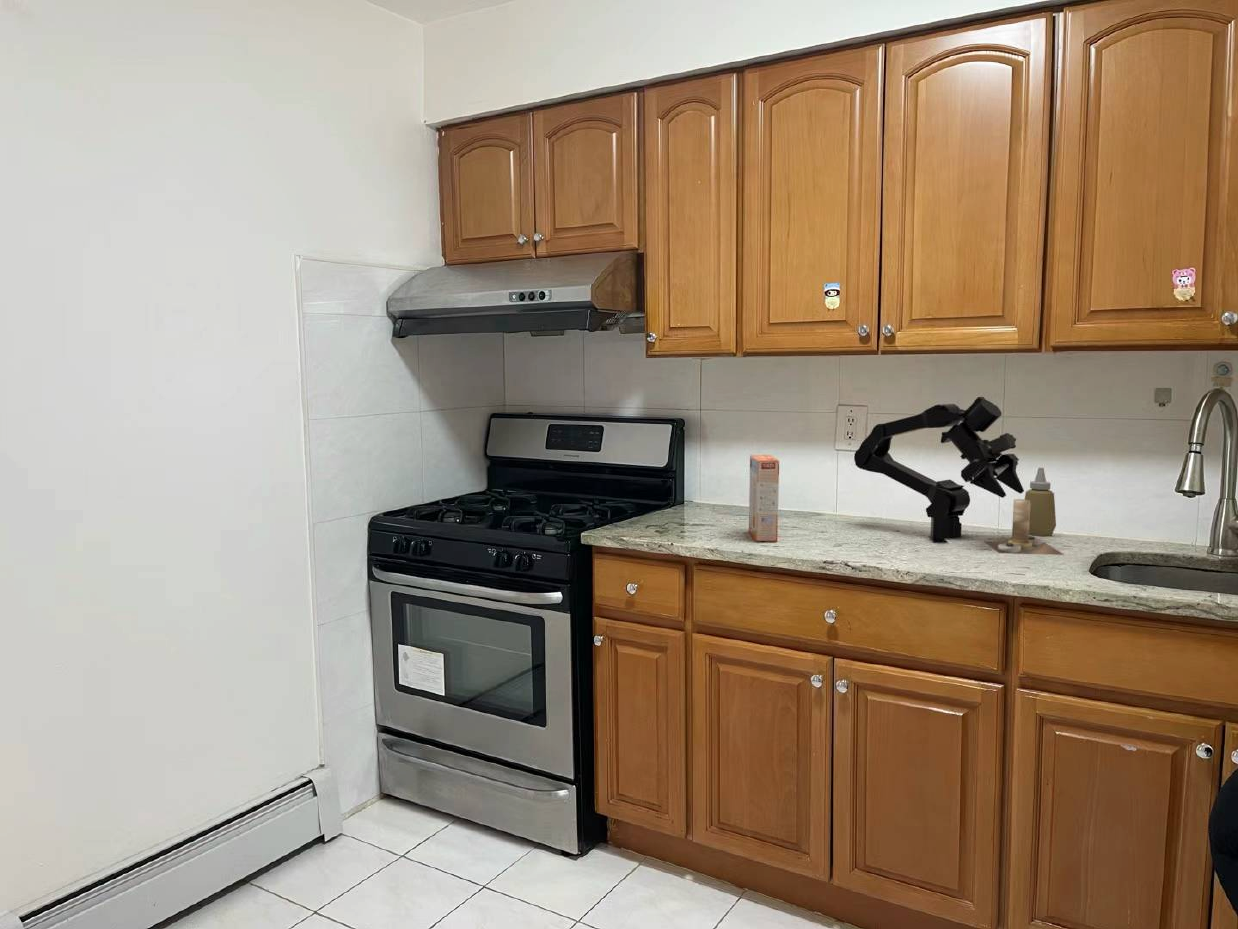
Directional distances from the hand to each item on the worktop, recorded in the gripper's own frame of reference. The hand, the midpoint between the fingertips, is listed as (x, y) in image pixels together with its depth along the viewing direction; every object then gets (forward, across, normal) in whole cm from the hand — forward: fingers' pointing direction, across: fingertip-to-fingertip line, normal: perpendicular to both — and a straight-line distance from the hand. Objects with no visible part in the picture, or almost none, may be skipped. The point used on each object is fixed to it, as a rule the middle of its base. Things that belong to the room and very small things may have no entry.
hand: (1013, 494), depth 209 cm
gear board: (+11, 0, +8) cm, 14 cm away
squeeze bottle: (+8, +20, +12) cm, 25 cm away
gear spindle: (+10, 0, +7) cm, 12 cm away
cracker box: (-27, -29, +46) cm, 61 cm away
